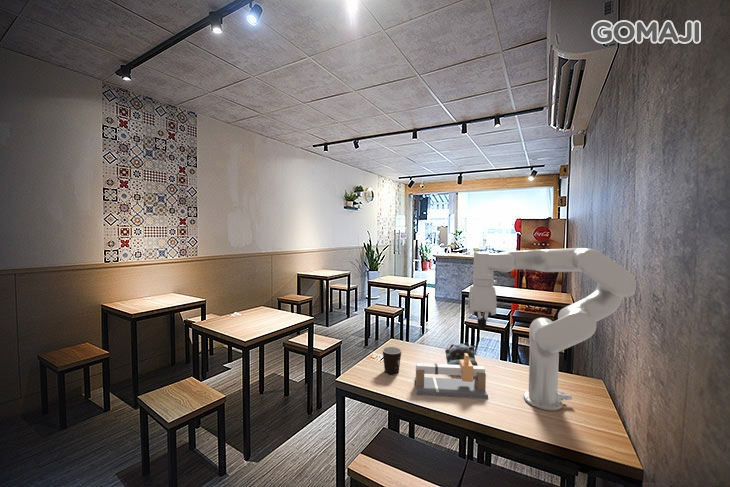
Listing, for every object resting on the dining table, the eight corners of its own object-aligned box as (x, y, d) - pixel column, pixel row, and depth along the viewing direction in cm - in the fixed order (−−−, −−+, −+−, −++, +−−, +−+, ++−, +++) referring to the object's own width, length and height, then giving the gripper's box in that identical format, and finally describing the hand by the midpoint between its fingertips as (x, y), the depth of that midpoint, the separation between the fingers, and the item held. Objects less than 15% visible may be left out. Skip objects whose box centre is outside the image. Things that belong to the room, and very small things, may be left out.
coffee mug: (390, 378, 136) (391, 355, 135) (378, 370, 143) (378, 349, 142) (409, 371, 143) (410, 349, 142) (397, 364, 149) (397, 344, 149)
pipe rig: (479, 383, 131) (479, 361, 131) (488, 398, 119) (488, 374, 119) (415, 380, 134) (415, 358, 133) (417, 394, 122) (417, 370, 121)
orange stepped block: (469, 374, 129) (469, 351, 128) (473, 381, 122) (473, 357, 122) (459, 374, 129) (459, 351, 129) (462, 381, 123) (463, 357, 122)
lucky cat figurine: (441, 373, 141) (438, 341, 147) (451, 375, 149) (448, 344, 155) (474, 371, 133) (469, 338, 139) (483, 373, 141) (478, 342, 147)
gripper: (499, 282, 127) (497, 326, 128) (461, 281, 128) (460, 324, 129) (505, 285, 119) (504, 332, 120) (465, 284, 121) (464, 330, 121)
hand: (481, 328), depth 125 cm, fingers closed
